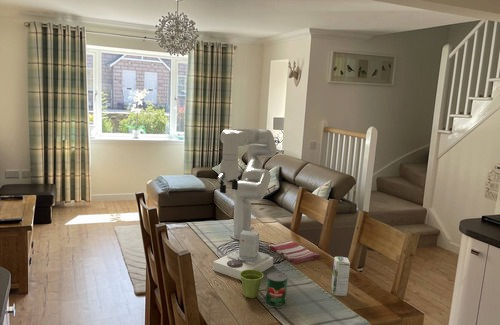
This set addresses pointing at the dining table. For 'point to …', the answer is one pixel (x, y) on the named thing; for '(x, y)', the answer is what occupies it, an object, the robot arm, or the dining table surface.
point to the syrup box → (340, 276)
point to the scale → (239, 266)
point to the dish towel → (293, 252)
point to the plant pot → (251, 282)
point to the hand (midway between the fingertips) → (228, 191)
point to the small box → (249, 244)
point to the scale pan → (248, 260)
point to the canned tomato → (276, 289)
